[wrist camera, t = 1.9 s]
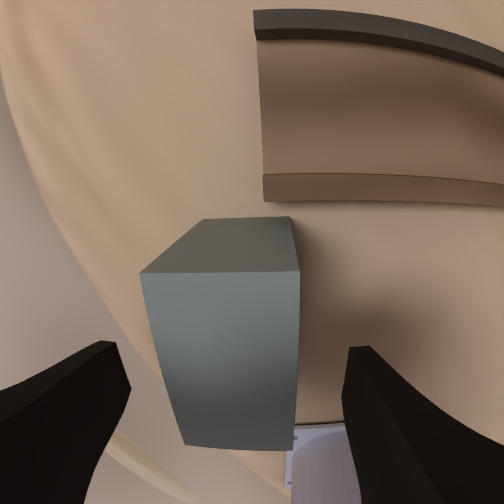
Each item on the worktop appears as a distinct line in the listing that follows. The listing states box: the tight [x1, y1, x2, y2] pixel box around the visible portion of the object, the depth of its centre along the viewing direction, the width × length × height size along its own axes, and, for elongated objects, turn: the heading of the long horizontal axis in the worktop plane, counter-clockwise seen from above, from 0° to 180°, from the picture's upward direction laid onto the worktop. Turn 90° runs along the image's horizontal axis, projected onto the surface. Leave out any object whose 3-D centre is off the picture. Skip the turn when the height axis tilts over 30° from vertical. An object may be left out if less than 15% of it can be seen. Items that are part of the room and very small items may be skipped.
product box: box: [139, 216, 300, 451], centre depth 12 cm, size 4×7×7 cm, turn 3°
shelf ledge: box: [253, 9, 504, 206], centre depth 10 cm, size 8×22×2 cm, turn 93°
